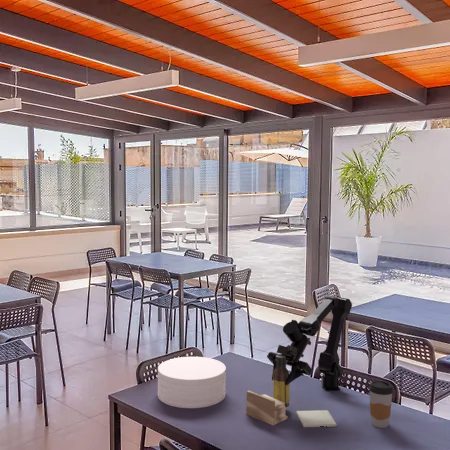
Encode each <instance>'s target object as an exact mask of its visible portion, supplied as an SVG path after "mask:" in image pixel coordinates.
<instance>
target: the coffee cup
mask: <svg viewBox="0 0 450 450" xmlns="http://www.w3.org/2000/svg"><path fill="white" fill-rule="evenodd" d="M393 390H394V389H393V387H392V384H391V383H390V382H388V381H384V380H373V381H371V382H370V384H369V387H368V391H369V412H370V413H369V414H370V423H371V425H372V427H375V428H379V429H385V428H387V427H389V425H390V419H391V410H392V400H393V399H392V398H393V393H394V391H393Z"/></svg>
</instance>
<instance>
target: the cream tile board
mask: <svg viewBox="0 0 450 450" xmlns="http://www.w3.org/2000/svg"><path fill="white" fill-rule="evenodd" d="M296 415H297V417H298V419H299V420H300V422H301V425H302V426H303V427H302V428H321V427H320V426H324V428H325V427H326V426H327V427H328V428H329V427H337V423H336V422H335V420H334V418H333V416H332V415H331V413H330V412H329V411H328V410H327V409H325V410H322V409H321V410H319V409H318V410H317V409H316V410H296ZM327 427H326V428H327Z"/></svg>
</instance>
